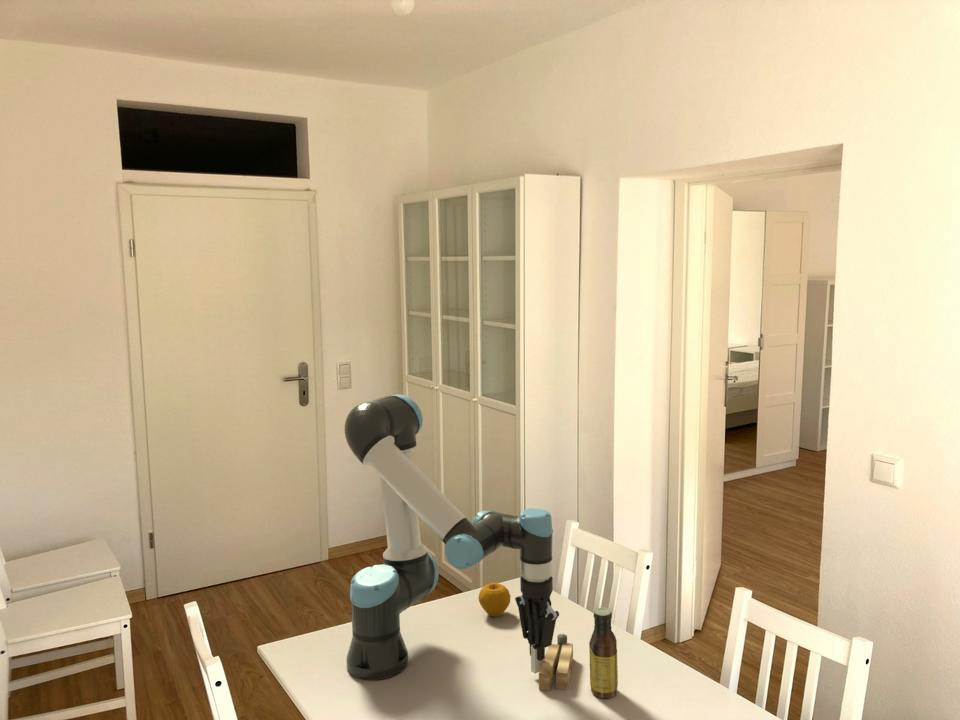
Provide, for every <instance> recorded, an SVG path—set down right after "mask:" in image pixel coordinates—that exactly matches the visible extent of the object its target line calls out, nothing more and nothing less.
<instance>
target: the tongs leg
mask: <svg viewBox="0 0 960 720" xmlns="http://www.w3.org/2000/svg"><path fill="white" fill-rule="evenodd" d="M559 658H560V645H557V644H555V643H552V644H551V645H550V646H548V647H547V650H546V651H545V658H544V660H543V663H542V666H541V668H540V671H539V672H538V690H541V691H548V692H550V691H551V688H552V685H553V682H554V679H555V676H556V672H557V667H558V663H559Z"/></svg>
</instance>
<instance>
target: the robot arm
mask: <svg viewBox="0 0 960 720" xmlns="http://www.w3.org/2000/svg"><path fill="white" fill-rule="evenodd" d="M423 421H424V419H423V413H422V410H421V409H420V407H419V405H418V403H417V402H415V401H414V399H412V398H411V397H410V396H407V395H405V394H398V393H397V394H390V395H385V396H383V397H380V398H376V399H372V400H369V401H364V402H361V403H359V404H357V405H356V406H354V407H353V408H352V409H351V410H350V412H349V413H348V415H347V416H346V419H345V423H344V436H345V440H346V442H347V445H348V447H349V449H350V451H352V453H353V455H354V456H355V457H356V459H358V461H359V462H360V463H361V464H362V465H363V466H364V467H366V468H367V467H369V468H370V467H371V468H372V469H373V470H374V471H375V472H376V473H377V474H378V476H379V479H380V488H381V495H382V497H381V498H382V505H383V514H384V515H383V516H384V523H385V525H384V526H385V533H386V541H387V542H386V543H387V548H386V549H385V551H383V553H382V560H383V564H375V565H374V564H373V565H372V566H366V567H364V568H362V569H360V570H359V571H358V572H356V573H355V574H354V576H352V579H351V581H350V591H349V599H350V610H351V611H350V613H351V628H352V630H351V631H352V638H351V641H350V644H349V648H348V651H347V654H346V669H347V672H348V673H349V674H350V675H352V676H353V677H355V678H357V679H361V680H366V681H367V680H368V681H370V680H371V681H375V680H384V679H388V678H391V677H395V676H396V675H398V674H401V673H402V672H403V671H405V669H406V668H407V667H408V665H409V652H408V648H407V646H406V644H405V640H404V637H403V634H402V633H401V621H400V620H401V619H400V618H401V616H400V615H401V613H403V612H404V611H406V610H407V609H408V608H410V607H412V606H413V605H416V603H418V602H419V601H422V600H423V599H425V598H427V596H428V595H429V594H431V593H432V592H433V590H434V589H435V587H436V586H437V584H438V582H439V566H438V563H437V562H436V560H435V559H433V555H432V554H431V553H429V551H428V548H427V547H428V546H426V545H424V544H423V543H422V541H421V540H422V539H421V533H420V532H421V531H420V521H419V518H420V520H421V521H423V523H425V524H426V526H427V527H428V528H429V529H430V530H431V531H432V532H433V533H434V534H435V535H436V536H437V538H439V540H441V541H442V542H443V543H444V545H445V546H444V555H445V557H446V560H447V562H448V563H449V564H450V565H451V566H452V567H453V568H455V569H459V570H466V569H468V568H471V567H473V566H476V565H477V564H479V563H480V562H481V561H482V560H483V559H485V558H486V557H488V556H489V555H491V554H492V553H494V552H496V551H497V550H499V549H500V548H501V547H502V548H503V547H504V548H508V549H515V550H519V575H520V592H521V593H522V594H520V595H518V596H516V597H515V598H514V599H515V603H516V605H517V607H518V613H519V615H518V616H519V621H520V627H521V633H522V638H523V639H526V640H527V643H528V644H529V656H530V671H531V673H533V674H537V673H538V674H539V671H540V668H541V666H542V663H543V660H544V658H545V655H546V651H545V650H546V648H548V647H549V646H550V645H551V644H553V639H554V634H555V633H554V632H555V628H556V622H557V619H558V618H559V616H560V612H559V611H558V610H554V609H553V607H552V601H551V595H552V592H553V589H554V587H553V583H554V581H553V579H554V578H553V534H554V533H553V532H554V530H553V522H552V518H553V517H552V515H551V513H550V512H549V511H548V510H546V509H543V508H538V507H537V508H526V509H523V510H522V511H521V512H520V514H519V515H513V514H512V515H511V514H509V513H508V514H507V513H502V512H498V511H494V510H490V511H489V510H479V511H478V512H477V513H476V515H475V516H474V517H473V519H472V522H471V521H470V520H469V519H468V518H467V517H466V516H465V515H464V514H463V513H462V512H461V511H460V510H459V509H458V507H456V505H454V503H452V501H451V500H449V499H448V498H447V496H446V495H445V494H444V493H443V492H441V490H440V489H439V488H438V487H437V486H436V485H435V484H434V483H433V482H432V481H431V479H429V478H428V477H427V476H426V475H425V474H424V473H423V472H422V470H420V469H419V467H417V465H415V463H413V456H412V453H413V452H414V450H416V448H417V447H418V446H417V437H416V435H418V433H419V432H420V430H421V429H422V427H423Z"/></svg>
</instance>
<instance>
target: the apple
mask: <svg viewBox="0 0 960 720" xmlns="http://www.w3.org/2000/svg"><path fill="white" fill-rule="evenodd" d="M509 591H510V590H509V589H508V588H507V587H506V586H505V585H503V584H502V583H499V582H490V583H488V584H485V585H484V586H483V587H482V588H481V589H480V591H479V593H478V598H477V599H478V601H479V604H480V606H481V608H482V609H483V610H484V612H485V613H486V614H488V616H489V617H490V616H491V617H493V618H494V617H495V618H498V617H501V616H502V615H503V614H504V613H505V611H506V610H507V609H508V608H509V605H510V603H511V595H510V592H509Z"/></svg>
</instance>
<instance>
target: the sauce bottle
mask: <svg viewBox="0 0 960 720" xmlns="http://www.w3.org/2000/svg"><path fill="white" fill-rule="evenodd" d="M612 615H613V614H612V609H610V608H608V607H604V606H602V607H601V606H600V607H596V608H594V610H593V619H594V625H593V631H592V634H591V637H590V640H589V643H588V644H589V645H588V646H589V681H590V682H589V685H590V691H591V693H592V694H594V696H595V697H598V698H602V699H609V698H613V697H614V696H616V695H617V693H618V685H619V684H618V683H619V681H618V680H619V679H618V677H619V674H618V671H619V670H618V668H619V667H618V649H617V648H618V647H617V646H618V645H617V642H618V641H617V638H616V635H615V633H614V631H613V630H612Z"/></svg>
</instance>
